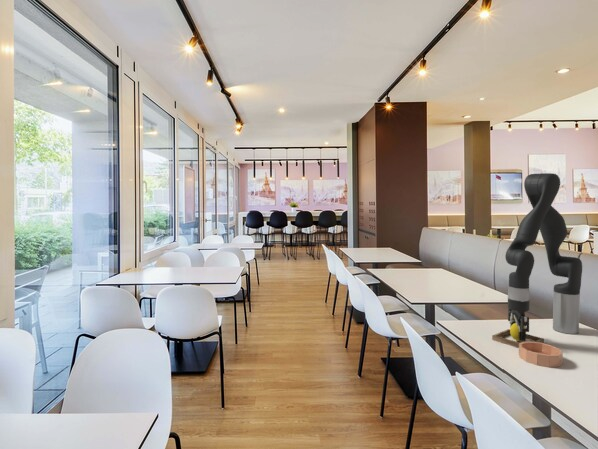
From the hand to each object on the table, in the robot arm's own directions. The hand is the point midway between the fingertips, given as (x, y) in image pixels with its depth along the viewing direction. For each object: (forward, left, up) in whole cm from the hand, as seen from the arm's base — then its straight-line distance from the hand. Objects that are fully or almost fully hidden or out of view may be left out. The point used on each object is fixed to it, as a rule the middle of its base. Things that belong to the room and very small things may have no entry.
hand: (517, 336), depth 141 cm
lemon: (0, 0, -2) cm, 2 cm away
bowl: (+11, +13, -2) cm, 17 cm away
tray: (0, 0, -2) cm, 2 cm away
